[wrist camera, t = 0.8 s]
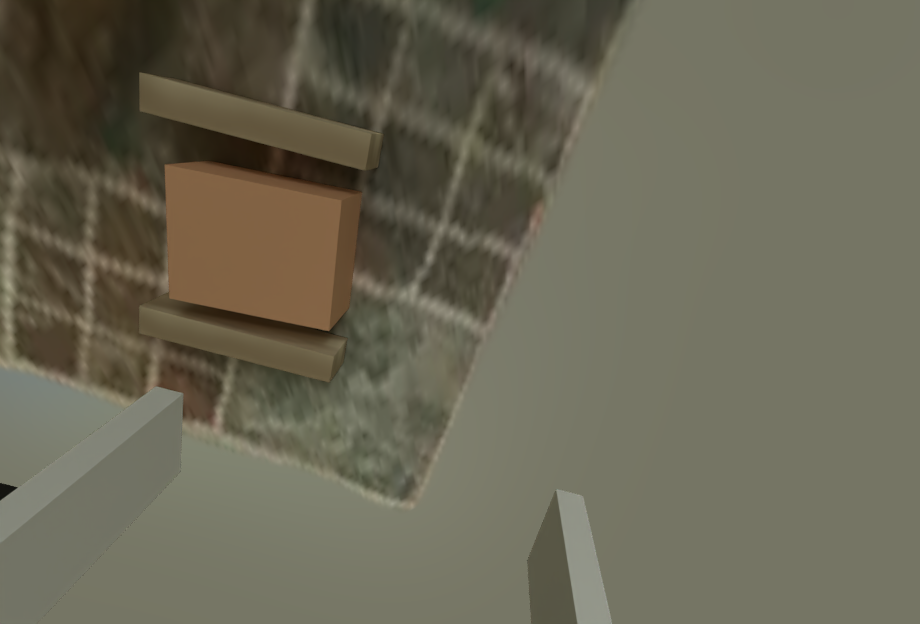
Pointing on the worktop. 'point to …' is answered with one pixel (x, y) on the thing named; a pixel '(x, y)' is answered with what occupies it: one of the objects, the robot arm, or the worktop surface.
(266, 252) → the block
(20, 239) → the worktop surface
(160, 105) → the chute
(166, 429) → the robot arm
